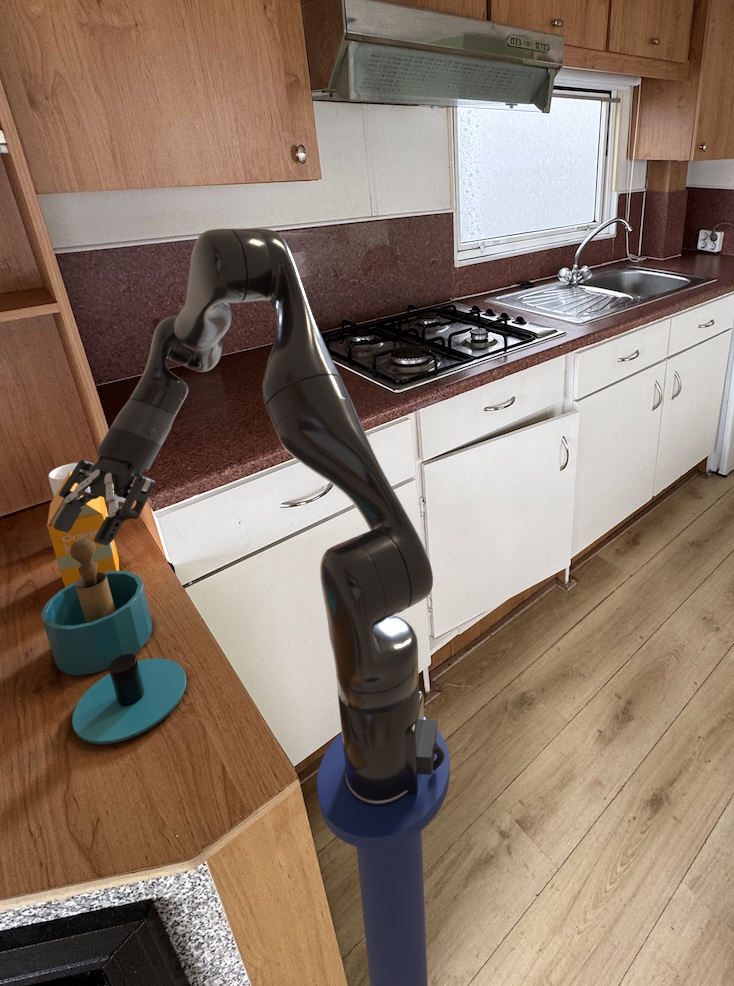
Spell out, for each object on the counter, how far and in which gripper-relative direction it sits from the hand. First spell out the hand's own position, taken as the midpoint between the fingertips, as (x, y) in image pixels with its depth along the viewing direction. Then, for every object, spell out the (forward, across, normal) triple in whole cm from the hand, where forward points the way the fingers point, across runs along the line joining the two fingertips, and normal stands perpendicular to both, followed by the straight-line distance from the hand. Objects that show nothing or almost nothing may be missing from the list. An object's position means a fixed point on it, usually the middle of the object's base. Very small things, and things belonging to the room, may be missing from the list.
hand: (80, 537), depth 84 cm
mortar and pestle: (+13, 0, -13) cm, 19 cm away
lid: (+18, -14, -9) cm, 24 cm away
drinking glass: (+2, +30, -26) cm, 39 cm away
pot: (+14, 0, -13) cm, 19 cm away
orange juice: (+7, +16, -20) cm, 27 cm away
